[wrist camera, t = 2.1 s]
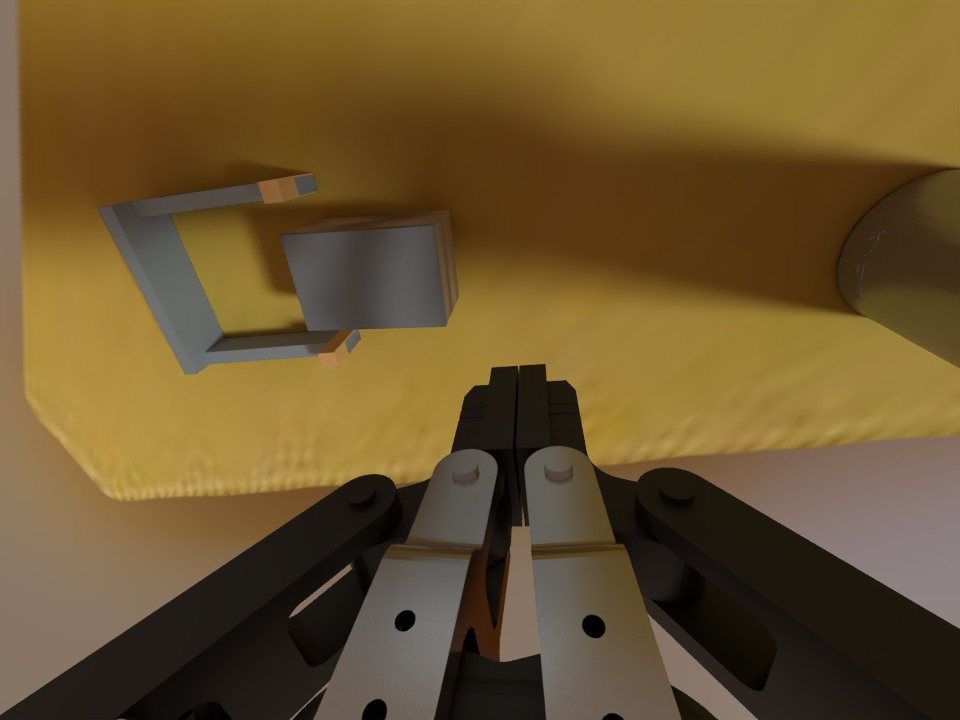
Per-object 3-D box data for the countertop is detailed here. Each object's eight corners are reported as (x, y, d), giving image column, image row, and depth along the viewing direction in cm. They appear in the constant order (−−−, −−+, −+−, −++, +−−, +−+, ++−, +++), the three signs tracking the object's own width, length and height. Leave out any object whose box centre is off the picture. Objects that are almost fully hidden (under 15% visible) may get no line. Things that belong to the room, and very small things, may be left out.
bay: (312, 172, 27) (276, 179, 24) (361, 340, 33) (338, 367, 29) (147, 197, 29) (90, 206, 25) (220, 351, 35) (181, 378, 31)
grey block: (449, 209, 28) (432, 225, 23) (459, 295, 31) (445, 326, 26) (322, 218, 29) (279, 235, 24) (342, 300, 32) (308, 330, 27)
